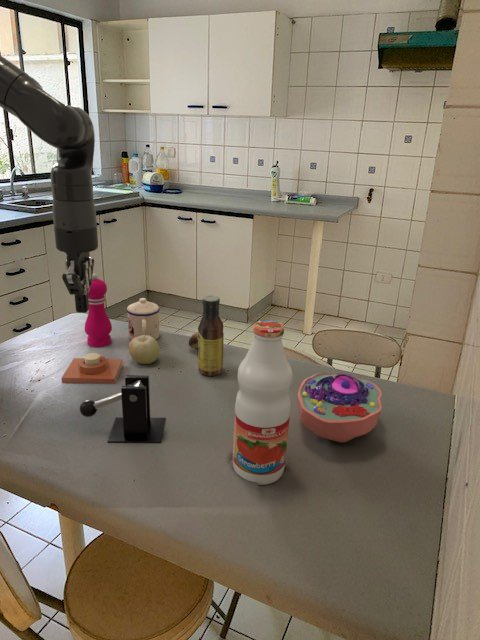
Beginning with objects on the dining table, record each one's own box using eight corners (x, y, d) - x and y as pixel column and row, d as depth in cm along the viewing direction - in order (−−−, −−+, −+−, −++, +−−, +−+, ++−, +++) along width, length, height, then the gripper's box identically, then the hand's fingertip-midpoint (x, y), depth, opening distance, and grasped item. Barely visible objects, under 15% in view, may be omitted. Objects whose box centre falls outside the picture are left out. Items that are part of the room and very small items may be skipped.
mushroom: (213, 349, 120) (209, 326, 122) (186, 356, 123) (182, 334, 124) (224, 352, 128) (220, 330, 129) (198, 358, 130) (194, 337, 131)
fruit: (159, 354, 124) (159, 327, 121) (159, 367, 117) (158, 339, 114) (130, 355, 123) (129, 327, 120) (128, 368, 116) (126, 339, 113)
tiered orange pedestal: (62, 386, 107) (60, 371, 105) (74, 366, 116) (72, 351, 114) (114, 386, 107) (113, 371, 106) (122, 366, 117) (122, 352, 115)
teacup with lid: (128, 331, 137) (126, 294, 133) (159, 329, 139) (158, 293, 134) (127, 348, 126) (125, 308, 122) (161, 347, 128) (160, 307, 124)
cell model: (274, 435, 93) (278, 386, 88) (321, 395, 108) (327, 352, 103) (352, 472, 83) (361, 419, 79) (392, 423, 98) (401, 376, 94)
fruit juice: (279, 451, 88) (292, 314, 78) (288, 486, 80) (304, 337, 69) (230, 452, 87) (236, 314, 77) (234, 487, 79) (241, 337, 68)
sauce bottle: (204, 363, 120) (205, 291, 112) (226, 368, 118) (229, 295, 110) (193, 374, 114) (193, 299, 107) (216, 380, 112) (218, 303, 105)
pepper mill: (80, 343, 128) (73, 273, 121) (101, 335, 134) (96, 268, 126) (97, 350, 124) (91, 279, 117) (118, 341, 130) (114, 273, 122)
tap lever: (83, 422, 88) (74, 409, 87) (87, 413, 91) (79, 400, 89) (145, 398, 86) (137, 385, 85) (147, 389, 89) (139, 376, 88)
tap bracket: (107, 446, 87) (103, 392, 83) (116, 422, 95) (112, 371, 90) (161, 447, 88) (159, 393, 83) (165, 422, 95) (164, 371, 91)
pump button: (83, 366, 108) (82, 359, 108) (86, 359, 112) (86, 352, 111) (98, 366, 109) (98, 359, 108) (102, 359, 112) (101, 352, 111)
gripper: (66, 216, 91) (73, 299, 98) (41, 230, 79) (52, 323, 85) (104, 218, 92) (109, 300, 98) (86, 231, 79) (93, 325, 86)
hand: (82, 311), depth 92 cm, fingers closed
